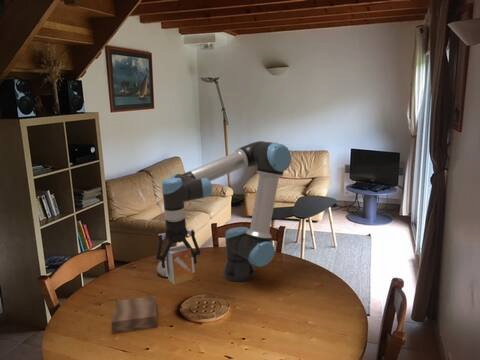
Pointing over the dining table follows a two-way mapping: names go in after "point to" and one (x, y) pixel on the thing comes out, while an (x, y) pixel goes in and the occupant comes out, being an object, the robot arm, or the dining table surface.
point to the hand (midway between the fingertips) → (180, 273)
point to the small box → (179, 264)
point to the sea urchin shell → (161, 270)
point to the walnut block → (134, 314)
